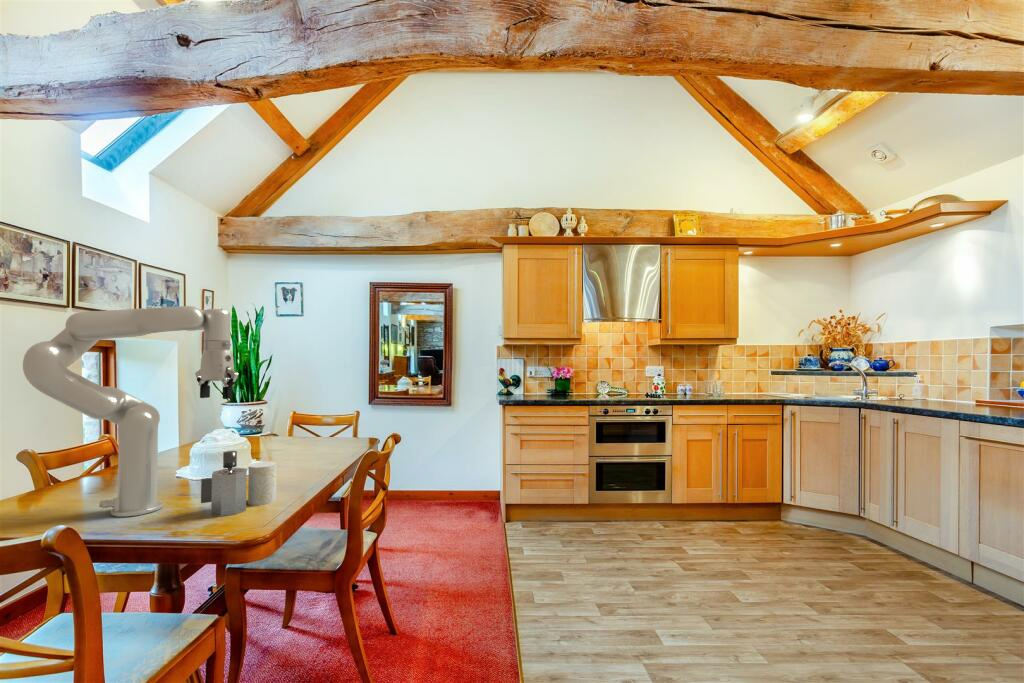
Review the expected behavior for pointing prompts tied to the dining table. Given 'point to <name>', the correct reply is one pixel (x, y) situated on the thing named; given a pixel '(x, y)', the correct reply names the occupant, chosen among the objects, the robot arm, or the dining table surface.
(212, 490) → the octagonal faceted vessel
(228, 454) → the plunger
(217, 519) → the dining table surface
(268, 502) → the light grey cylinder
